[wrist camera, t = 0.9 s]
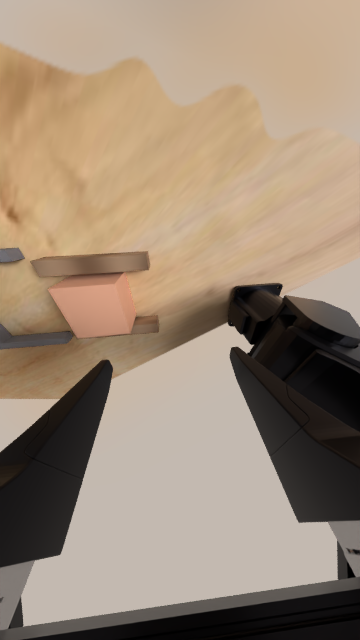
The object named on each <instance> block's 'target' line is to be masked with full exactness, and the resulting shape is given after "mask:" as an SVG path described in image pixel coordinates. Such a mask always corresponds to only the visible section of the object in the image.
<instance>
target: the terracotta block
mask: <svg viewBox="0 0 360 640" xmlns="http://www.w3.org/2000/svg"><path fill="white" fill-rule="evenodd" d="M48 291H49V292H50V294H51V296H52V297H53V299H54V301H55V302H56V304H57V306H58V307H59V309H60V310H61V312H62V314H63V315H64V317H65V319H66V320H67V322H68V323H69V325H70V327H71V328H72V330H73V332H74V333H75V335H76V337H77V338H87V337H98V336H109V335H119V334H130V333H131V330H132V327H133V323H134V320H135V317H136V310H135V307H134V303H133V299H132V295H131V291H130V288H129V284H128V280H127V276H126V272H110V273H94V274H78V275H72V276H70V277H68V278H66V279H65V280H63V281H61V282H59V283H57V284H56V285H54V286H52V287H50V288H49V289H48Z"/></svg>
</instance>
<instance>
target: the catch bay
mask: <svg viewBox="0 0 360 640" xmlns="http://www.w3.org/2000/svg"><path fill="white" fill-rule="evenodd" d="M20 259H24V256H23V254H22V253H21V251H20V250H19V248H6V249H0V262H11V261H16V260H20ZM72 337H73V335H72V334H71V332H70V331H68V332H56V333H44V334H32V335H20V336H12V335H11V334H10V333H9V332H8V331H7V330H6V329H5V328H4V327H3V326H2V325H1V324H0V349H10V348H21V347H33V346H44V345H56V344H67V343H68V342H69V341H70V340H71V339H72Z"/></svg>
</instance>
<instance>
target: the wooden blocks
mask: <svg viewBox="0 0 360 640" xmlns="http://www.w3.org/2000/svg"><path fill="white" fill-rule="evenodd" d="M30 262H31V264H32V265H33V267H34V269H35V270H36V272H37V274H38V275H39V277H47V276H63V275H78V274H94V273H110V272H126V271H142V270H149V267H150V261H149V255H148V251H145V252H128V253H110V254H92V255H74V256H57V257H43V258H40V259H36V260H33V261H30ZM72 332H73V330H72ZM155 332H159V321H158V316H146V317H135V320H134V323H133V327H132V330H131V333H130V334H119V335H109V336H121V335H132V334H144V333H155ZM73 333H74V332H73ZM74 335H75V333H74ZM109 336H98V337H109ZM75 337H76V335H75ZM98 337H87V338H98ZM76 338H77V337H76ZM77 339H86V338H77Z"/></svg>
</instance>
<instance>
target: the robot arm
mask: <svg viewBox="0 0 360 640" xmlns="http://www.w3.org/2000/svg"><path fill="white" fill-rule="evenodd" d="M278 286H279V287H278ZM277 287H278V288H277ZM282 287H283V286H282V284H280V283H272V284H258V285H244V286H237V287H236V288H235V289H234V294H233V300H232V302H231V304H230V309H229V315H228V317H229V320H228V324H229V326H235V328H236V329H237V331H238V332H239V333H240V334H243V335H244V336H245V338H246V339H247V340H248V342H249V343H250V344H251V345H254V346H253V348H252V349H251V351H250V352H249V353H248V354H246V353H245V352H244V351H243V350H241V349H240V348H239V347H232V348H231V352H230V360H231V363H232V366H233V370H234V373H235V376H236V379H237V382H238V384H239V386H240V389H241V391H242V393H243V395H244V398H245V400H246V402H247V405H248V407H249V409H250V412H251V414H252V416H253V418H254V421H255V423H256V426H257V428H258V430H259V432H260V435H261V437H262V439H263V442H264V444H265V446H266V449H267V451H268V453H269V456H271V457H270V458H271V460H272V463H273V465H274V467H275V469H276V472H277V474H278V476H279V479H280V481H281V483H282V486H283V488H284V490H285V492H286V495H287V497H288V500H289V502H290V504H291V507H292V509H293V511H294V513H295V516H296V518H297V520H298V522H299V523H302V522H328V523H329V525H330V527H331V529H332V531H333V532H334V534H335V536H336V538H337V549H338V550H337V552H338V555H337V556H338V580H335V581H328V582H322V583H315V584H308V585H301V586H295V587H288V588H281V589H275V590H268V591H261V592H254V593H247V594H241V595H234V596H227V597H220V598H215V599H207V600H200V601H194V602H187V603H180V604H173V605H167V606H160V607H154V608H146V609H140V610H134V611H126V612H120V613H113V614H106V615H99V616H92V617H86V618H79V619H72V620H66V621H59V622H52V623H45V624H39V625H32V626H25V627H23V615H22V603H21V594H22V592H23V589H24V587H25V584H26V582H27V579H28V576H29V574H30V571H31V569H32V566H33V564H34V561H35V560H39V559H44V558H48V557H53V556H58V555H60V554H61V551H62V549H63V545H64V542H65V539H66V535H67V532H68V529H69V525H70V522H71V518H72V515H73V512H74V508H75V505H76V502H77V498H78V495H79V491H80V488H81V485H82V481H83V478H84V474H85V471H86V468H87V464H88V460H89V457H90V454H91V450H92V447H93V444H94V440H95V437H96V434H97V430H98V427H99V423H100V420H101V417H102V414H103V410H104V407H105V403H106V400H107V396H108V393H109V388H110V383H111V378H112V372H113V367H112V365H111V363H110V361H109V360H102V361H100V362H99V363H98V364H97V365H96V366H95V367H94V368H93V369H92V370H91V371H90V372H89V373H88V374H86V375H85V376H84V377H83V378H82V379H81V380H80V381H79V382H78V383H77V384H76V385H75V386H74V387H73V388H72V389H70V390H69V391H68V392H67V393H66V394H65V395H64V396H63V397H62V398H61V399H60V400H59V401H58V402H57V403H56V404H54V405H53V406H52V407H51V408H50V410H48V411H47V412H46V413H45V414H44V415H43V416H42V417H41V418H39V419H38V420H37V421H36V422H35V423H34V424H33V425H32V426H31V427H29V429H27V430H26V431H25V432H24V433H23V434H21V435H20V436H19V437H18V438H17V439H16V440H14V441H13V442H12V443H11V444H10V445H8V446H7V447H6V448H5V449H4V450H2V451H1V452H0V640H360V327H359V325H358V324H357V323H356V321H355V320H354V319H353V317H352V316H351V314H350V313H349V312H347V311H345V310H342V309H340V308H338V307H335V306H332V305H330V304H328V303H325V302H323V301H317V300H311V299H305V298H299V297H293V296H287V295H285V296H284V298H281V297H280V296H279V295H280V292H281V290H282ZM238 289H240V290H239V291H237V290H238ZM231 323H232V324H231Z"/></svg>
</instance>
